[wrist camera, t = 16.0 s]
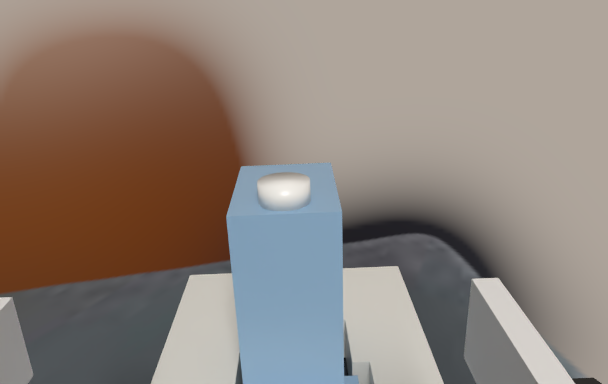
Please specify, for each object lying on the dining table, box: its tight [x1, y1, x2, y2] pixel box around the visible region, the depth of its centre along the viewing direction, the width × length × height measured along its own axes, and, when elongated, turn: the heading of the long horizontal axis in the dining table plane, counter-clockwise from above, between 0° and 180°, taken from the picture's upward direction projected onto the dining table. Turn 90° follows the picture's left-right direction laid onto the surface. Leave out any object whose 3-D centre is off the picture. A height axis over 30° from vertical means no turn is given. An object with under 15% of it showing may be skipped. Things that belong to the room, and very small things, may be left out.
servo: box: [226, 163, 359, 384], centre depth 28 cm, size 11×6×15 cm, turn 1°
